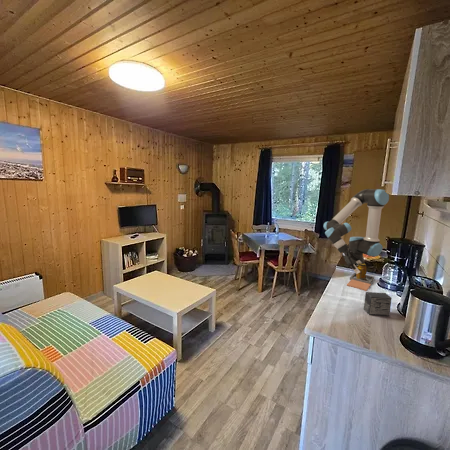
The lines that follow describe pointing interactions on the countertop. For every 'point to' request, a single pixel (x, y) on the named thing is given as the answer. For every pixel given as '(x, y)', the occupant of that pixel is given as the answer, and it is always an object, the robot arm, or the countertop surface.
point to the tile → (359, 285)
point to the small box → (377, 304)
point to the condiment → (362, 271)
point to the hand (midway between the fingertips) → (361, 270)
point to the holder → (363, 280)
